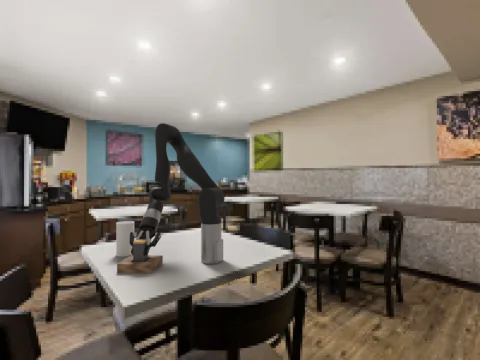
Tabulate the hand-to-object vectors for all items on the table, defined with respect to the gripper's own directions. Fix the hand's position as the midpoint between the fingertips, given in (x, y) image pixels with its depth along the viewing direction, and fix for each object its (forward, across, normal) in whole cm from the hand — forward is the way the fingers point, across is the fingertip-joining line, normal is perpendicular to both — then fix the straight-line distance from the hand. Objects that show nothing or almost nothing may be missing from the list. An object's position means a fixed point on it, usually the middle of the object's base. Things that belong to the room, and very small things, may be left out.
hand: (138, 254), depth 102 cm
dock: (+3, 0, +6) cm, 6 cm away
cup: (-11, -17, +20) cm, 28 cm away
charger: (+2, 0, +4) cm, 4 cm away
